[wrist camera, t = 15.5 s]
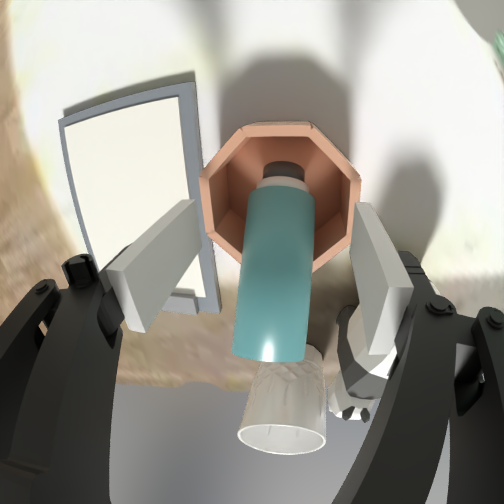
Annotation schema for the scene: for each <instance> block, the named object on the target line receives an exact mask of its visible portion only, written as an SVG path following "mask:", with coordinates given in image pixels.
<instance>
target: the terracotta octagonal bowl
mask: <svg viewBox="0 0 504 504" xmlns="http://www.w3.org/2000/svg"><path fill="white" fill-rule="evenodd" d="M274 161H289V162H293V163H296V164H298V165H300V166H301V167H302V168H303V169H304V171H305V182H304V183H306V184H307V185H308V187H309V194H311V195H312V196H313V197H314V198H315V231H314V251H313V268H312V273H313V272H314V271H316V270H317V269H318V268H320V267H321V266H322V265H324V264H325V263H326V262H328V261H329V260H330V259H331V258H333V257H334V256H335V255H337V254H338V253H339V252H341V251H342V250H343V249H344V248H346V247H347V246H348V245H349V244H351V236H352V227H353V217H354V206H355V202H360V191H361V178H360V175H359V173H358V172H357V171H356V169H355V168H354V167H353V165H352V164H351V163H350V161H349V160H348V159H347V158H346V157H345V156H344V155H343V154H342V152H341V151H340V150H339V149H338V148H337V147H336V146H335V145H334V144H333V143H332V142H331V141H330V140H329V139H328V138H327V137H326V136H325V135H324V134H323V133H322V132H321V131H320V130H319V129H318V128H317V127H316V126H315V125H314V124H313V123H311V124H310V122H307V121H272V122H255V123H252V124H249V125H246V126H242V127H241V128H239V129H238V130H237V131H236V132H235V133H234V134H233V135H232V137H231V138H230V139H229V140H228V141H227V142H226V143H225V145H224V146H223V147H222V148H221V149H220V150H219V152H218V153H217V154H216V155H215V156H214V157H213V159H212V160H211V161H210V162H209V163H208V165H207V166H206V167H205V168H204V169H203V171H202V172H201V173H200V175H201V176H200V177H199V185H200V193H201V201H202V209H203V216H204V224H205V231H206V233H209V234H208V235H207V236H209V237H210V238H211V239H212V240H213V241H214V242H216V243H217V244H218V245H219V246H220V247H221V248H222V249H224V250H225V251H226V252H227V253H228V254H229V255H231V256H232V257H233V258H234V259H235V260H236V261H238V262H239V263H240V264H241V260H242V251H243V242H244V233H245V224H246V216H247V207H248V198H249V194H250V193H251V192H252V191H253V190H255V189H256V187H257V183H258V182H259V181H260V180H262V178H263V168H264V166H265V165H267V164H268V163H271V162H274Z"/></svg>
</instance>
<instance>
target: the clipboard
mask: <svg viewBox="0 0 504 504" xmlns="http://www.w3.org/2000/svg"><path fill="white" fill-rule="evenodd" d="M58 123H59V131H60V138H61V144H62V151H63V156H64V162H65V167H66V172H67V177H68V181H69V186H70V190H71V194H72V198H73V202H74V206H75V210H76V214H77V217H78V221H79V224H80V228H81V231H82V234H83V238H84V241H85V244H86V247H87V250H88V253H89V254H90V255H92V257H93V259H94V262H95V265H96V268H97V271H98V273H99V272H100V271H101V270H102V269H103V268H104V267H105V266H106V265H107V264H108V263H109V262H110V261H111V260H113V258H114V257H115V256H116V255H118V253H119V252H120V251H121V250H122V249H123V248H124V247H126V246H128V245H130V244H131V243H133V242H134V241H135V240H136V239H138V238H139V237H140V236H141V235H142V234H143V233H144V232H145V231H146V230H147V229H148V228H150V227H151V226H152V225H153V224H154V223H155V222H156V221H157V220H159V219H160V218H161V217H162V216H163V215H164V214H165V213H167V212H168V211H169V210H170V209H171V208H172V207H173V206H175V205H176V204H177V203H178V202H179V201H181V200H183V199H195V201H196V208H197V215H198V222H199V229H200V236H201V242H202V248H201V250H200V251H199V253H198V254H197V256H196V257H195V259H194V260H193V262H192V263H191V265H190V266H189V267H188V269H187V270H186V272H185V273H184V275H183V276H182V278H181V279H180V281H179V283H178V284H177V286H176V287H175V289H174V290H173V292H172V293H171V295H170V296H169V298H168V299H167V301H166V302H165V304H164V306H163V307H162V309H161V311H168V312H175V313H182V314H190V315H197V314H198V312H199V311H201V312H210V313H219V314H220V312H221V309H222V305H221V299H220V292H219V286H218V279H217V272H216V266H215V259H214V252H213V244H212V239H211V238H210V237H209V236H207V235H208V234H209V233H206V231H205V224H204V216H203V209H202V201H201V193H200V185H199V177H200V176H201V175H200V173H201V172H202V171H203V162H202V153H201V143H200V132H199V121H198V110H197V98H196V85H195V82H186V83H180V84H175V85H170V86H165V87H161V88H156V89H152V90H148V91H144V92H140V93H136V94H132V95H128V96H125V97H121V98H118V99H115V100H111V101H108V102H105V103H102V104H99V105H96V106H93V107H90V108H88V109H85V110H82V111H79V112H77V113H74V114H72V115H69V116H67V117H64V118H62V119H59V120H58Z"/></svg>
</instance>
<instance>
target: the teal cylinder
mask: <svg viewBox="0 0 504 504" xmlns="http://www.w3.org/2000/svg"><path fill="white" fill-rule="evenodd" d="M304 182H305V171H304V169H303V168H302V167H301V166H300V165H298V164H296V163H293V162H289V161H274V162H271V163H268V164H267V165H265V166H264V168H263V178H262V180H260V181H259V182H258V183H257V187H256V189H255V190H253V191H252V192H251V193H250V194H249V198H248V207H247V216H246V224H245V233H244V242H243V251H242V260H241V269H240V278H239V287H238V297H237V306H236V315H235V325H234V334H233V344H232V353H233V354H234V355H236V356H239V357H243V358H247V359H252V360H258V361H266V362H298V361H302V360H304V356H305V348H306V338H307V329H308V318H309V307H310V296H311V282H312V268H313V251H314V231H315V198H314V197H313V196H312V195H311V194H309V187H308V185H307V184H306V183H304Z"/></svg>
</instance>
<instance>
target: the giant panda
mask: <svg viewBox="0 0 504 504" xmlns="http://www.w3.org/2000/svg"><path fill="white" fill-rule="evenodd" d="M429 281H430V280H429ZM430 283H431V285H432V287H433V289H434V291H435V293H436V294H437V295H440V296H441V294H440V293H439V291H438V290H437V288H436V287H435V285H434V284H433V283H432V282H431V281H430ZM336 324H337V325H339V335H338V348H337V353H338V358H339V362H340V367H341V370H340V371H339V373H338V374H337V375H336V377H335V379H334V380H333V382H332V383H331V385H330V386H329V388H328V389H327V403H328V404H329V412H333V413H334V414H335V416H337V417H340V418H343V419H344V420H348V419H362V420H363V421H364V423H365V422H367V421H369V419H370V414H369V412H370V410H371V408H372V406H373V404H374V402H375V400H376V399H378V398H381V397H382V395H383V392H384V389H385V386H386V383H387V380H388V377H389V376H386V375H387V373H388V371H389V369H390V367H391V365H392V363H393V361H394V359H395V356H396V354H397V351H396V347H395V342H394V345H393V347H392V350H391V352H390V354H382V355H368V350H367V343H366V336H365V330H364V324H363V318H362V312H361V306H360V304H359V305H358V307H357V308H355V307H354V306H346V307H345V308H344V309H343V310H342V312H341V313H340V315H339V316H338V318H337V321H336Z"/></svg>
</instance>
